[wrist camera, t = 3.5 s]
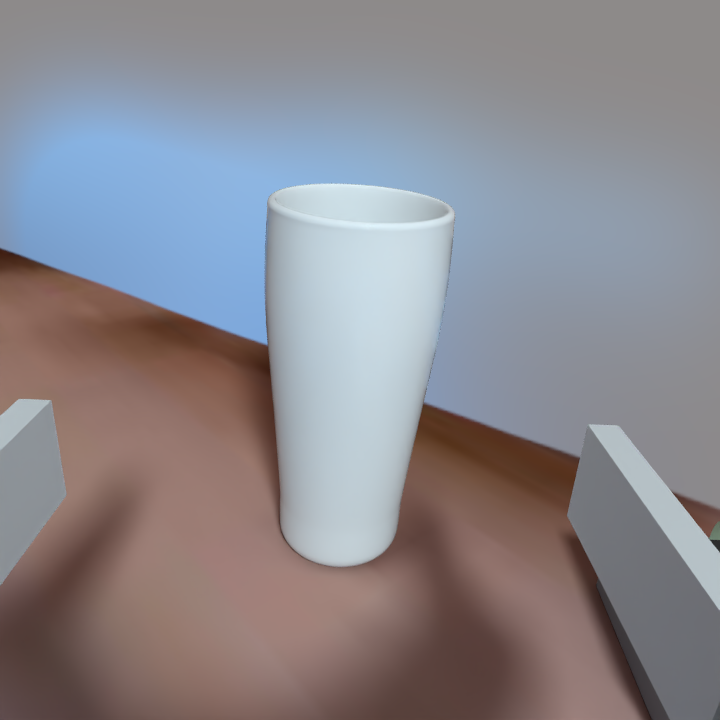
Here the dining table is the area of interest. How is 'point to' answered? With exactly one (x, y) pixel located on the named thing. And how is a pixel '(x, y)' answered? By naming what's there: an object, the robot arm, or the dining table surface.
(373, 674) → the dining table surface
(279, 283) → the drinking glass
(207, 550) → the dining table surface
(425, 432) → the dining table surface
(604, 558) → the robot arm
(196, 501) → the dining table surface
